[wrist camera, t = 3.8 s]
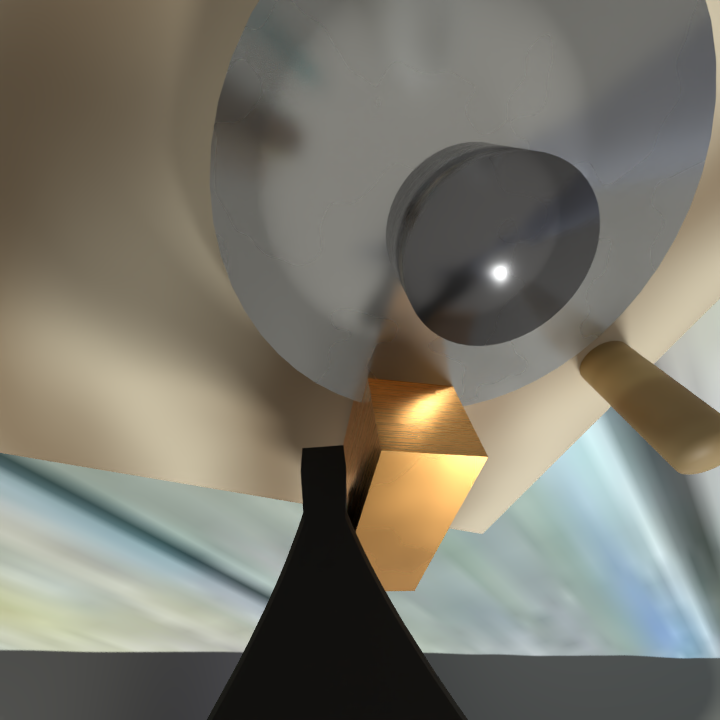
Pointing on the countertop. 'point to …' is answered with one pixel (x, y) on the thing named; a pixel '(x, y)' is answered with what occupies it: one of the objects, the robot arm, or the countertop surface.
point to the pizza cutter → (449, 212)
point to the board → (214, 290)
